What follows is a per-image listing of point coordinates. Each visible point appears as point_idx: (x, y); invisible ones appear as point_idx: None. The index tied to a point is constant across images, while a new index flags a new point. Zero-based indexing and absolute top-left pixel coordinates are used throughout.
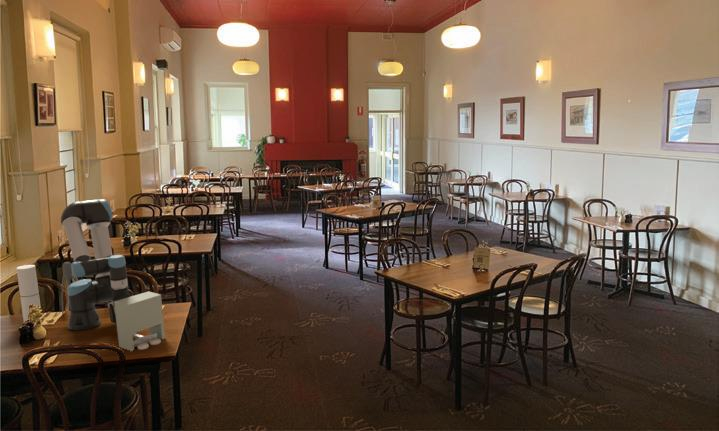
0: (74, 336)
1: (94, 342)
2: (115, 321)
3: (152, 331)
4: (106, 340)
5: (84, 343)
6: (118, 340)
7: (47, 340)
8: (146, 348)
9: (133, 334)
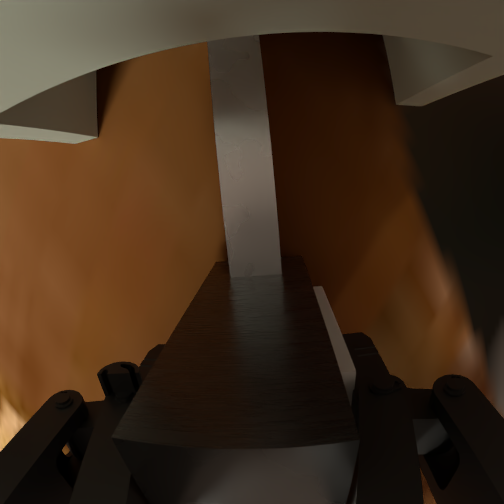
0: (425, 491)
1: (462, 363)
2: (439, 393)
3: (71, 86)
4: (406, 340)
5: (487, 386)
6: (451, 93)
7: None
8: None
9: (252, 115)
